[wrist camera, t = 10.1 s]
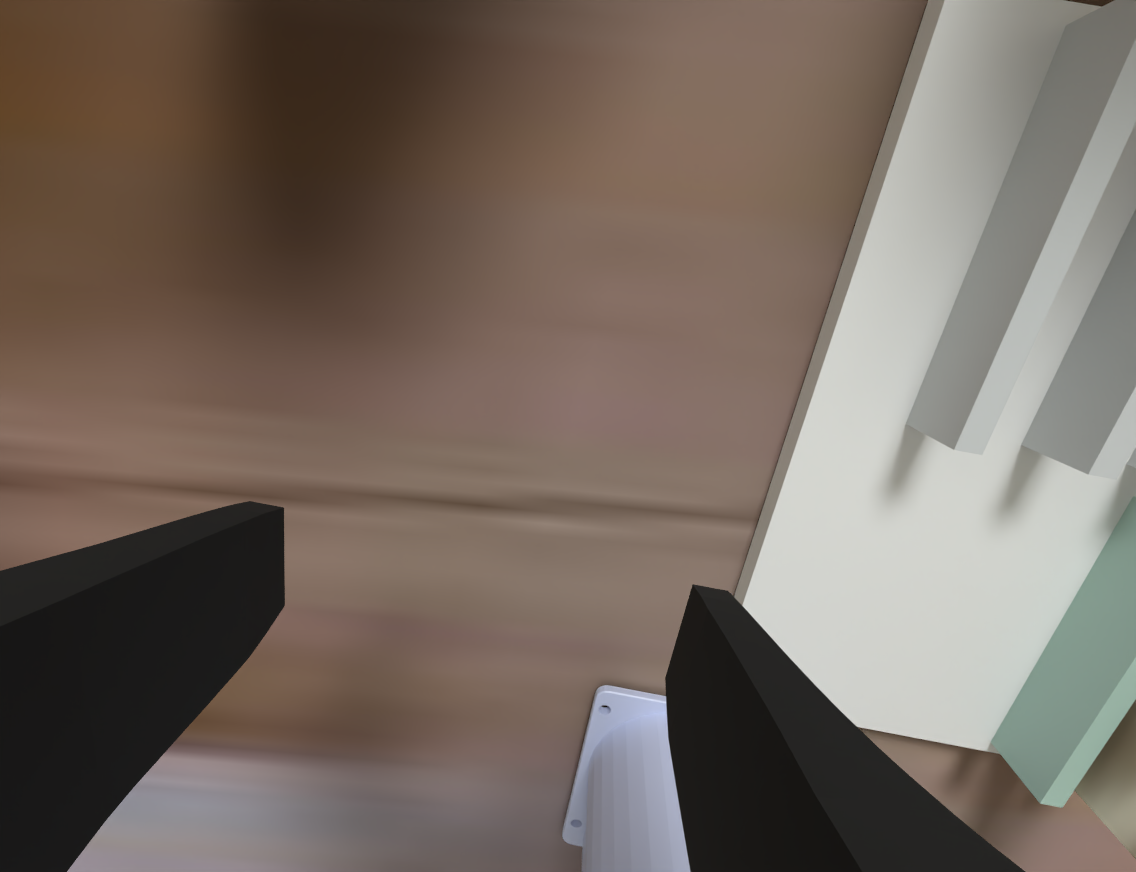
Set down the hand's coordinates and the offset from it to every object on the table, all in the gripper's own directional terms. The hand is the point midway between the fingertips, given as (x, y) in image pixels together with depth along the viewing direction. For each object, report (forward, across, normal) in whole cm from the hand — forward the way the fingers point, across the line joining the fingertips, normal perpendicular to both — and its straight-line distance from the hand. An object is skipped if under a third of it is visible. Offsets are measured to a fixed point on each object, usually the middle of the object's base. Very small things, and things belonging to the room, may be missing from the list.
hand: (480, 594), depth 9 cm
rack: (+10, -17, -2) cm, 20 cm away
